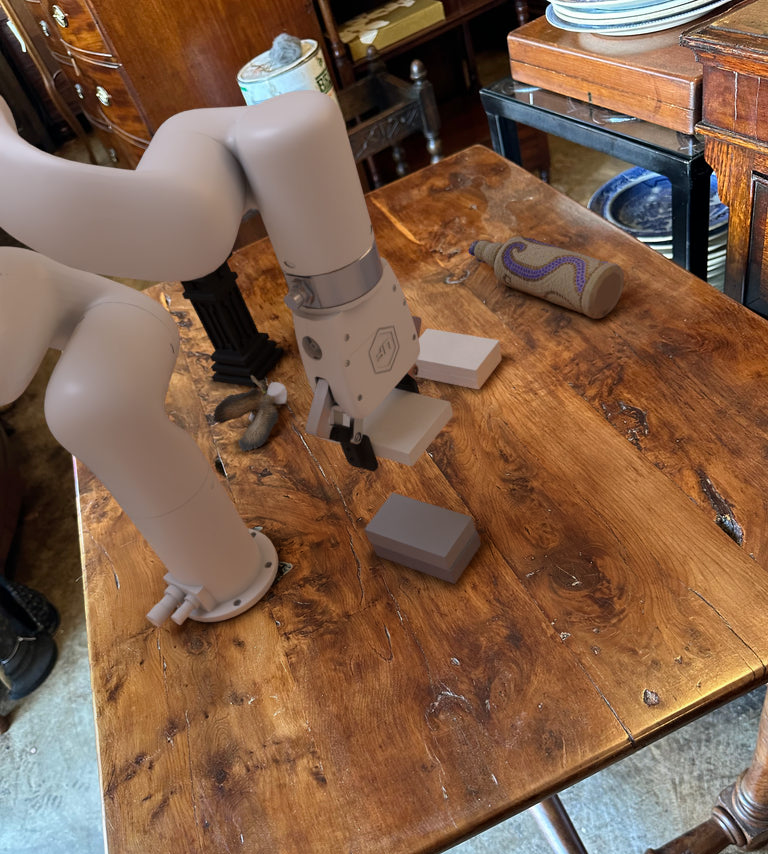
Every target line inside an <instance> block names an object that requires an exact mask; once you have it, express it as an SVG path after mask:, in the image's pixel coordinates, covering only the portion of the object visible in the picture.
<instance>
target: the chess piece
mask: <svg viewBox="0 0 768 854" xmlns="http://www.w3.org/2000/svg"><path fill="white" fill-rule="evenodd" d="M233 256H234V253H233V251H232V250H231V252H230V254H229V256H228V257H227V259H226V260H225V261H224V263H223V264H222V265H220V266H219V267H218V268H217V269H216V270H215V271H213V272H211V273H209V274H207V275H206V276H204V277H201V278H197V279H193V280H189V281H179V282H180V284H181V286H182V288H183V290H184V291H183V292H182V293H181V295H182V297H183V299H184V300H189V302H190V304H191V306H192V308H193V309H194V312H195V314H196V315H197V317H198V320H199V321H200V324H201V325H202V327H203V329H204V331H205V334H206V335H207V338H208V339H209V341H210V343H211V345H212V347H213V349H214V352H213V353H212V354H211V355H210V356H209V358H210V360H211V362H214V363H213V364H212V365H211V366H210V369H211V370H212V372H213V373H214V374H213V375H211V379H212V381H213V382H217V383H224V384H231V385H238V386H245V387H251V388H257V387H258V385H257V384H256V383H254V382H253V380H252V379H251V375H252V376H254V377H255V378H256V379H257V380H258V381H259V382H260V381H262V380H264V378H265V376H267V375H268V373H269V372H270V371H271V369H272V368H273V367H274V366H275V365H276V363H277V362H278V361H279V360H280V358H281V357H282V356H283V355H284V354H285V350H284V348H283V347H277V346H278V344H277V341H276V340H273V339H270V335H269V332H260V331H259V329H258V327H257V325H256V323H255V321H254V318H253V316H252V314H251V312H250V310H249V307H248V306H247V303H246V301H245V298H244V297H243V296H244V295H243V294H242V291H241V290H240V287H239V285H238V282H237V281H236V280H237V279H239V275H238V273H237V271H232V269H231V267H230V264H229V263H228V261H229V259H230V258H231V257H233Z"/></svg>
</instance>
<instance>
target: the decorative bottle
mask: <svg viewBox="0 0 768 854" xmlns="http://www.w3.org/2000/svg"><path fill="white" fill-rule="evenodd" d="M467 251H468V254H469V255H470V256H473V257H475V260H476V261H477V262H479V263H483V264H486V265H487V266H489V267H490V268H492V269H493V270H494V271H493V272H494V275H495V277H496V280H497V281H498V282H499V283H500V284H502V285H504V286H507V287H509V288H511V289H514V290H517V291H520V292H523V293H526V294H529V295H531V296H533V297H538V298H540V299H543V300H545V301H548V302H550V303H552V304H555V305H558V306H561V307H563V308H567V309H568V310H572V311H574V312H578V313H580V314H584V315H586V316H587V317H589V318H591V319H596V320H597V319H598V320H600V319H601V318H604V317H606V316H607V315H608V314H609V313H611V311H613V309H614V308H615V307H616V305H617V304H618V302H619V300H620V298H621V297H622V293H623V291H624V287H625V286H624V282H625V274H624V270H623V268H622V267H621V265H619V264H618V263H615V262H608V261H605V260H601V259H597V258H595V257H592V256H588V255H585V254H583V253H580V252H576V251H572V250H569V249H565V248H562V247H559V246H557V245H555V244H550V243H546V242H542V241H539V240H536V239H534V238H530V237H526V236H520V235H518V236H515V237H514V236H513V237H511V238H510V239H508V240H507V241H506V242H499V241H498V242H497V241H496V242H493V243H492V242H491V241H486V240H474V241H473V242H471V243H470V246H469V248H468V250H467Z"/></svg>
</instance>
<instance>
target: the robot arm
mask: <svg viewBox="0 0 768 854" xmlns="http://www.w3.org/2000/svg"><path fill="white" fill-rule="evenodd" d="M339 107H340V106H339V105H338V104H337V102H336V101H335V100H334V99H333V98H332V97H331V96H330V95H329V94H327V93H325V92H322V91H319V90H315V89H304V90H293V91H289V92H283V93H280V94H278V95H274V96H273V97H270V98H267V99H266V100H263V101H260V103H257V104H250V105H241V106H239V105H238V106H226V107H203V108H193V109H188V110H184V111H181V112H178V113H176V114H174V115H172V116H170V117H169V118H168V119H166V120H165V121H164V122H162V124H161V125H160V126H159V128H157V130H156V132H155V133H154V135H153V136H152V139H151V141H150V143H149V145H148V147H147V148H146V149H145V151H144V153H143V155H142V156H141V158H140V160H139V162H138V164H137V166H136V167H135V170H134V169H124V168H118V167H117V168H116V167H112V166H111V167H109V166H102V165H96V164H90V163H89V164H88V163H83V162H79V161H74V160H69V159H66V158H63V157H59V156H57V155H53V154H51V153H48V152H46V151H43V150H41V149H39V148H37V147H36V146H34V145H32V144H31V143H29V142H28V141H27V140H25V139H24V138H23V137H21V136H20V135H19V133H18V129H17V125H16V121H15V118H14V116H13V113H12V111H11V108H10V107H9V105H8V104H7V101H6V100H5V99H4V97H3V96H2V95H1V94H0V228H1V229H2V230H3V231H5V232H6V233H7V234H8V235H10V236H11V237H12V238H14V239H15V240H17V241H19V242H20V243H22V244H23V245H25V246H26V247H29V248H30V249H27V248H23V247H15V246H0V407H4V406H7V405H8V404H11V403H13V402H15V401H16V400H18V399H19V398H20V397H21V396H22V395H23V393H24V392H25V391H26V389H27V388H28V387H29V386H30V384H31V382H32V380H33V379H34V377H35V375H36V374H37V372H38V370H39V368H40V366H41V364H42V362H43V360H44V358H45V356H46V354H47V352H48V351H49V348H51V349H54V350H57V351H59V352H60V351H61V354H60V356H59V358H58V360H57V362H56V364H55V366H54V368H53V371H52V372H51V375H50V377H49V380H48V383H47V386H46V389H45V395H44V402H43V403H44V404H43V406H44V408H43V411H44V417H45V421H46V424H47V426H48V429H49V431H50V433H51V434H52V435H53V437H54V439H55V440H56V441H57V442H58V443H59V444H60V446H62V447H63V449H65V450H66V451H67V452H68V453H69V454H71V455H72V456H73V457H74V458H76V459H77V460H78V461H79V462H80V463H81V464H83V466H85V467H86V469H88V470H89V471H90V472H91V473H92V474H93V475H94V476H95V477H96V478H97V480H98V481H99V482H100V483H101V484H102V485H103V487H105V489H106V490H107V491H108V492H109V494H110V495H111V496H112V498H113V499H114V500H115V502H116V503H117V504H118V506H119V507H120V508H121V510H122V511H123V512H124V513H125V514H126V516H127V517H128V519H129V520H130V521H131V522H132V524H133V525H134V526H135V528H136V529H137V531H139V533H140V535H141V536H142V537H143V539H144V540H145V541H146V542H147V545H149V547H150V548H151V549H152V551H153V552H154V554H155V555H156V556H157V557H158V559H159V560H160V561H161V563H162V564H163V566H164V567H165V568H166V570H167V573H166V574H165V575H164V576H163V577H162V579H163V580H164V582H165V583H166V585H168V586H167V587H166V588H165V590H164V591H163V594H164V596H163V597H162V599H160V600H159V602H158V603H156V604H155V605H154V606H153V607H152V608H151V609H150V610H149V611H148V613H147V614H146V615H145V618H146V619H147V620H148V621H149V622H150V623H151V624H152V625H154V626H156V628H161V627H162V626H163V624H164V623H165V622H166V621H167V620H168V619H169V618H171V620H172V621H173V622H174V623H176V625H179V626H181V625H183V623H184V622H185V621H186V620H187V618H188V619H191V620H194V621H197V622H203V623H215V622H221V621H225V620H228V619H231V618H234V617H237V616H238V615H241V614H243V613H244V612H246V611H247V610H249V609H250V608H252V607H253V606H254V605H255V604H257V603H258V602H259V601H260V600H261V599H262V598H263V597H264V596H265V595H266V593H267V592H268V591H269V590H270V588H271V586H272V585H273V583H274V581H275V578H276V576H277V573H278V570H279V555H278V553H277V549H276V548H275V546H274V544H273V542H272V541H271V539H269V537H268V536H266V535H265V534H264V533H262V532H261V531H259V530H256V529H253V528H248V526H247V525H246V523H245V522H244V520H243V518H242V517H241V515H240V513H239V512H238V510H237V508H236V506H235V504H234V502H233V501H232V499H231V498H230V496H229V494H228V493H227V491H226V489H225V487H224V486H223V484H222V482H221V481H220V479H219V477H218V476H217V474H216V472H215V471H214V468H212V466H211V463H210V462H209V460H208V458H207V457H206V456H205V453H204V452H203V450H202V449H201V448H200V446H199V445H198V443H197V441H196V440H195V439H194V438H193V436H192V435H191V434H190V433H189V432H187V430H185V429H184V428H182V427H180V426H179V425H177V424H175V423H174V422H173V421H172V420H171V419H170V417H169V416H168V414H167V412H166V399H167V394H168V392H169V388H170V384H171V381H172V377H173V373H174V371H175V368H176V365H177V361H178V357H179V354H180V350H181V349H180V348H181V335H180V330H179V326H178V324H177V322H176V320H175V318H174V317H173V316H172V314H171V313H170V312H169V310H167V308H165V306H163V305H162V304H161V303H160V302H159V301H157V300H156V299H154V298H153V297H151V296H149V295H148V294H146V293H144V292H141V291H140V290H137V289H135V288H133V287H130V286H128V285H126V284H123V283H120V282H117V281H116V280H112V279H110V278H107V277H104V276H108V277H117V278H123V279H124V278H125V279H132V280H139V281H149V282H161V283H162V282H163V283H173V282H174V283H176V282H177V283H178V282H180V281H189V280H193V279H197V278H201V277H204V276H206V275H207V274H209V273H211V272H213V271H215V270H216V269H217V268H218V267H219V266H220V265H222V264H223V263H224V261H225V260H226V259H227V257H228V256H229V254H230V252H231V251H232V250H233V248H234V245H235V242H236V240H237V236H238V233H239V230H240V226H241V223H242V220H243V216H245V215H246V213H247V212H248V211H250V210H252V209H254V210H257V211H258V212H259V214H260V218H261V219H262V223H263V225H264V228H265V230H266V233H267V235H268V238H269V241H270V243H271V246H272V249H273V252H274V254H275V256H276V260H277V263H278V265H279V267H280V270H281V274H282V275H283V278H284V281H285V283H286V286H287V289H288V292H287V293H286V294H285V295H284V296H283V302H284V304H285V306H286V307H287V308H288V309H289V310H291V316H292V322H293V327H294V332H295V338H296V343H297V347H298V352H299V355H300V359H301V362H302V364H303V370H304V372H305V375H306V378H307V381H308V383H309V386H310V389H311V391H312V394H313V397H312V400H311V401H312V402H311V406H310V409H309V412H308V415H307V419H306V424H305V426H304V427H305V428H304V432H305V433H306V434H307V435H310V436H314V437H315V436H316V437H315V438H317V437H320V438H324V439H328V440H333V441H336V442H340V444H341V445H340V444H339V445H340V446H341V449H342V452H343V454H344V457H345V459H346V461H347V463H348V464H349V465H350V466H351V467H353V468H357V469H363V470H366V471H369V472H372V473H375V472H376V471H377V469H379V462H378V459H377V456H375V454H374V451H373V448H372V445H371V441H370V438H369V437H368V436H367V435H364V434H363V418H365V417H366V416H368V415H369V414H370V413H371V412H373V411H374V410H375V408H376V407H377V406H378V405H379V404H380V403H381V402H382V401H383V400H384V399H385V397H386V396H387V395H388V394H389V393H390V392H391V391H392V390H393V388H396V389H400V390H404V391H408V392H412V393H416V394H421V393H420V389H419V386H418V382H417V380H416V379H417V378H418V377H417V375H418V372H419V368H418V366H417V365H416V364H415V363H416V360H417V359H418V356H419V354H420V344H419V340H418V339H419V338H420V333H421V327H422V318H421V317H420V316H415V315H412V313H411V310H410V307H409V304H408V301H407V299H406V296H405V293H404V291H403V288H402V285H401V284H400V281H399V279H398V277H397V276H396V274H395V271H394V270H393V268H392V267H391V265H390V263H389V262H388V260H387V259H386V258H385V257H383V256H381V254H380V251H379V250H380V249H379V247H378V243H377V240H376V235H375V231H374V228H373V224H372V221H371V217H370V213H369V209H368V206H367V203H366V199H365V195H364V192H363V188H362V183H361V180H360V176H359V173H358V169H357V165H356V162H355V158H354V154H353V149H352V146H351V142H350V139H349V134H348V131H347V127H346V124H345V121H344V117H343V114H342V111H341V109H340V108H339ZM31 249H32V250H31ZM102 275H103V276H102ZM343 413H345V414H346V415H348V416H349V417H350V427H348V426H344V425H343ZM329 417H330V424H329ZM320 438H319V439H320ZM176 608H177V609H176ZM175 609H176V610H175ZM174 610H175V612H174V613H173V614H172V612H173V611H174Z"/></svg>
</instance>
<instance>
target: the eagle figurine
mask: <svg viewBox="0 0 768 854" xmlns="http://www.w3.org/2000/svg"><path fill="white" fill-rule="evenodd" d="M251 379H252V380H253V382H254V383H256V384H257V387H258V388H260V389H258V388H254V387H251V389H250V390H248V391H245V392H244V391H243V392H240V393H236V394H229V395H227V396H226V397H224V398H223V399H222V400H220V401H221V402H219V403H218V404H217V405H215V409H214V411H213V412H214V413H213V415H212V417H213V418H212V421H213V422H215V424H217V423H219V424H220V425H221V424H224V423H226V422H229V421H232V420H237V419H239V418H241V417H243V416H245V415H247V414H249V413H250V414H249V416H248V420H249V422H250V424H249V425H248V427H247V429H246V430H245V432H244V434H243V435H242V436H241V437H240V438H239V440H238V444H239V446H238V447H239V448H240V450H241V451H243V452H247V451H252V450H253V449H255V450H256V449H258V448H259V447H262V446H263V445H264V443H266V442H267V440H268V439H269V435H270V434H271V433H272V430H273V428H274V426H275V425H276V424H277V423H278V421H279V412H278V411H277V409H276V408H278V409H280V408H282V405H283V404H286V403H287V400H288V390H287V387H286V386H285V385H284V384H283V383H281V382H278V381H272V382H270V383H269V385H267V383H266V381H265V379H262V380H261V381H260V382H259V381H258V380H257V379H256V378H255V377H254V376H252V375H251Z"/></svg>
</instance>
